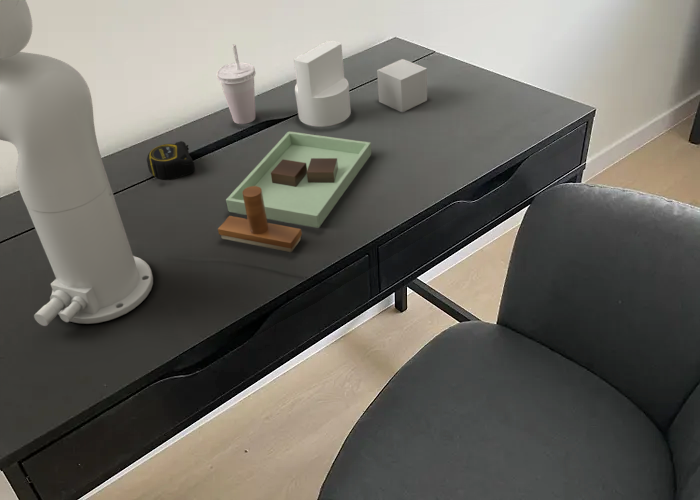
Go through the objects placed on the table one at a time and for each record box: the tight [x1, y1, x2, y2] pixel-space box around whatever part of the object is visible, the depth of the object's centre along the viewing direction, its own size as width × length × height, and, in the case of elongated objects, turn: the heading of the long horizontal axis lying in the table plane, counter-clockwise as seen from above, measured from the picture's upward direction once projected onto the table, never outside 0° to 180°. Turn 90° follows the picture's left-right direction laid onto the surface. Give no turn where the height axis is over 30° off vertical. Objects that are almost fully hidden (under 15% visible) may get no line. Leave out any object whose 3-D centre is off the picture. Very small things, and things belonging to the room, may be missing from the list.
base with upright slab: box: [293, 39, 352, 128], centre depth 125 cm, size 9×9×12 cm
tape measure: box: [146, 140, 196, 181], centre depth 117 cm, size 7×7×4 cm
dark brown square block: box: [271, 159, 307, 187], centre depth 112 cm, size 4×4×2 cm
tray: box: [225, 131, 372, 229], centre depth 111 cm, size 20×14×3 cm
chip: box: [307, 158, 338, 183], centre depth 112 cm, size 4×4×2 cm
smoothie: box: [216, 44, 256, 125], centre depth 125 cm, size 6×6×14 cm
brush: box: [217, 186, 303, 253], centre depth 99 cm, size 3×11×8 cm, turn 67°
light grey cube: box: [376, 58, 428, 113], centre depth 129 cm, size 6×6×6 cm
